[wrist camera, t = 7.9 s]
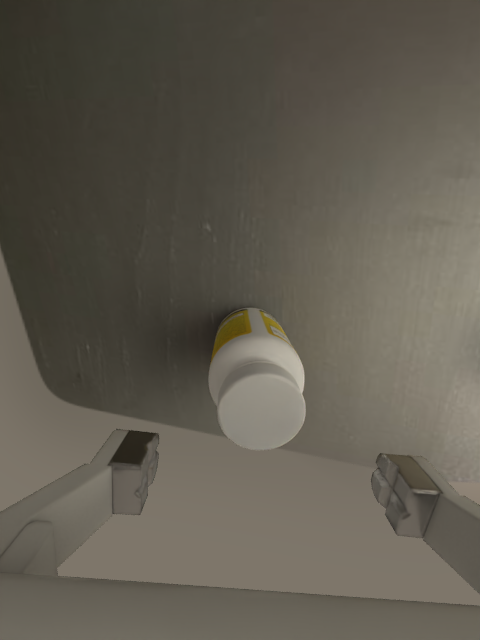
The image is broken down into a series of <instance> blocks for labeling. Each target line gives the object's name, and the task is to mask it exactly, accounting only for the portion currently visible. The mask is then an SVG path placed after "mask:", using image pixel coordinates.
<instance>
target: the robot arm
mask: <svg viewBox="0 0 480 640" xmlns="http://www.w3.org/2000/svg"><path fill="white" fill-rule="evenodd" d="M158 444H159V435H158V433H149V432H140V431H132V430H131V431H130V430H121V429H116V430H114V431H113V432H112V434H111V435H110V436H109V438H108V439H107V441H106V442H105V443H104V445H103V446H102V448H101V449H100V450H99V452H98V453H97V454H96V456H95V457H94V458H93V460H92V461H91V463H90V464H84V465H82V466H80V467H78V468H77V469H75V470H73V471H71V472H70V473H68V474H66V475H64V476H63V477H61V478H59V479H57V480H56V481H54V482H52V483H50V484H48V485H47V486H45V487H43V488H41V489H40V490H38V491H36V492H34V493H33V494H31V495H29V496H28V497H26V498H24V499H22V500H20V501H19V502H17V503H15V504H13V505H12V506H10V507H8V508H6V509H5V510H3V511H1V512H0V640H480V606H474V605H461V604H447V603H433V602H417V601H404V600H389V599H374V598H360V597H346V596H332V595H317V594H304V593H291V592H277V591H261V590H249V589H234V588H221V587H207V586H193V585H178V584H163V583H150V582H136V581H121V580H107V579H93V578H80V577H66V576H65V577H64V576H58V573H57V568H58V567H59V566H60V565H61V564H62V563H63V562H64V561H65V560H66V559H67V558H68V557H69V556H70V555H71V554H73V553H74V552H75V551H76V550H77V549H78V548H79V547H80V546H81V545H82V544H83V543H84V542H85V541H86V540H87V539H88V538H89V537H90V536H92V534H93V533H95V532H96V531H97V530H98V529H99V528H100V527H101V526H102V525H103V524H104V523H105V522H106V521H107V520H108V519H109V518H110V517H112V514H126V515H127V514H128V515H140V514H141V511H142V509H143V506H144V504H145V501H146V498H147V496H148V487H149V486H150V485H151V484H152V483H153V480H154V477H155V474H156V469H157V465H158V455H159V454H158V452H157V451H156V449H157V447H158ZM376 463H377V465H378V467H379V468H377V469H376V470H375V471H374V472H373V474H372V479H371V483H372V490H373V493H374V496H375V497H376V499H377V501H378V503H380V504H381V505H382V506H383V507H384V508H386V513H385V515H386V517H387V519H388V520H389V522H390V524H391V526H392V527H393V529H394V531H395V533H396V534H397V535H398V536H407V537H416V538H423V540H424V541H425V542H426V543H427V544H428V545H429V546H430V547H431V548H432V549H433V550H434V551H435V552H436V553H437V554H438V555H439V556H440V557H441V558H442V559H443V560H445V561H446V562H447V563H448V564H449V565H450V566H451V567H452V568H453V569H454V570H455V571H456V572H457V573H458V574H459V575H460V576H461V577H462V578H463V579H464V580H465V581H467V582H468V583H469V584H470V585H471V586H472V587H473V588H474V589H475V590H476V591H477V592H478V593H479V594H480V505H479V504H477V503H475V502H474V501H472V500H470V499H469V498H467V497H466V496H461V495H459V494H458V493H457V492H456V490H455V489H454V488H453V487H452V486H451V485H450V484H449V483H448V482H447V481H446V480H445V479H444V478H443V476H442V475H441V474H440V473H439V472H438V471H437V470H436V469H435V468H434V467H433V466H432V465H431V464H430V463H429V461H428V460H427V459H425V458H424V457H422V456H413V455H407V456H406V455H395V454H383V453H380V454H379V456H378V457H377V460H376Z"/></svg>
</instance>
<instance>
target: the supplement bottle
mask: <svg viewBox="0 0 480 640" xmlns="http://www.w3.org/2000/svg"><path fill="white" fill-rule="evenodd" d="M304 380H305V379H304V369H303V366H302V363H301V361H300V358H299V356H298V354H297V353H296V351H295V349H294V348H293V346H292V344H291V343H290V341H289V339H288V338H287V336H286V334H285V333H284V331H283V329H282V328H281V326H280V324H279V323H278V321H277V320H276V319H275V318H274V317H273V316H272V315H271V314H269V313H268V312H266V311H264V310H261V309H258V308H242V309H239V310H236V311H234V312H232V313H231V314H229V315H228V316H227V317H226V318H225V319H224V320H223V321H222V323H221V324H220V326H219V328H218V331H217V334H216V339H215V344H214V348H213V353H212V358H211V363H210V369H209V377H208V382H209V390H210V394H211V396H212V399H213V401H214V402H215V404H216V405H217V416H218V421H219V425H220V427H221V429H222V431H223V432H224V434H225V435H226V436H227V437H228V438H229V439H230V440H231V441H233V442H234V443H235V444H237V445H239V446H241V447H244V448H247V449H252V450H268V449H273V448H276V447H279V446H281V445H283V444H285V443H287V442H289V441H290V440H291V439H292V438H293V437H294V436H295V435H296V434H297V433H298V432H299V430H300V428H301V427H302V425H303V422H304V419H305V414H306V407H305V401H304V398H303V395H302V392H303V389H304Z"/></svg>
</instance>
